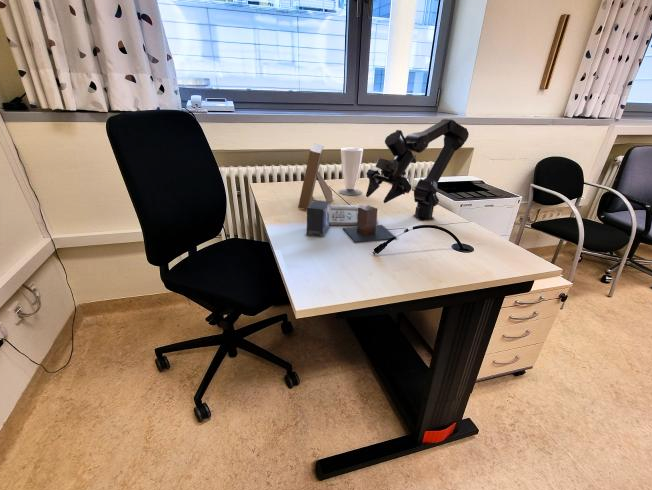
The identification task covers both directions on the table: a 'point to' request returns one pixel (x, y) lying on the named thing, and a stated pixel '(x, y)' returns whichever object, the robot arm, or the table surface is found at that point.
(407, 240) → the table surface
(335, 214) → the office telephone
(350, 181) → the cup
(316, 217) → the small box
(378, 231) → the desk pad
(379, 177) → the robot arm
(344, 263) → the table surface
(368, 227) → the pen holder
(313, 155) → the photo frame
